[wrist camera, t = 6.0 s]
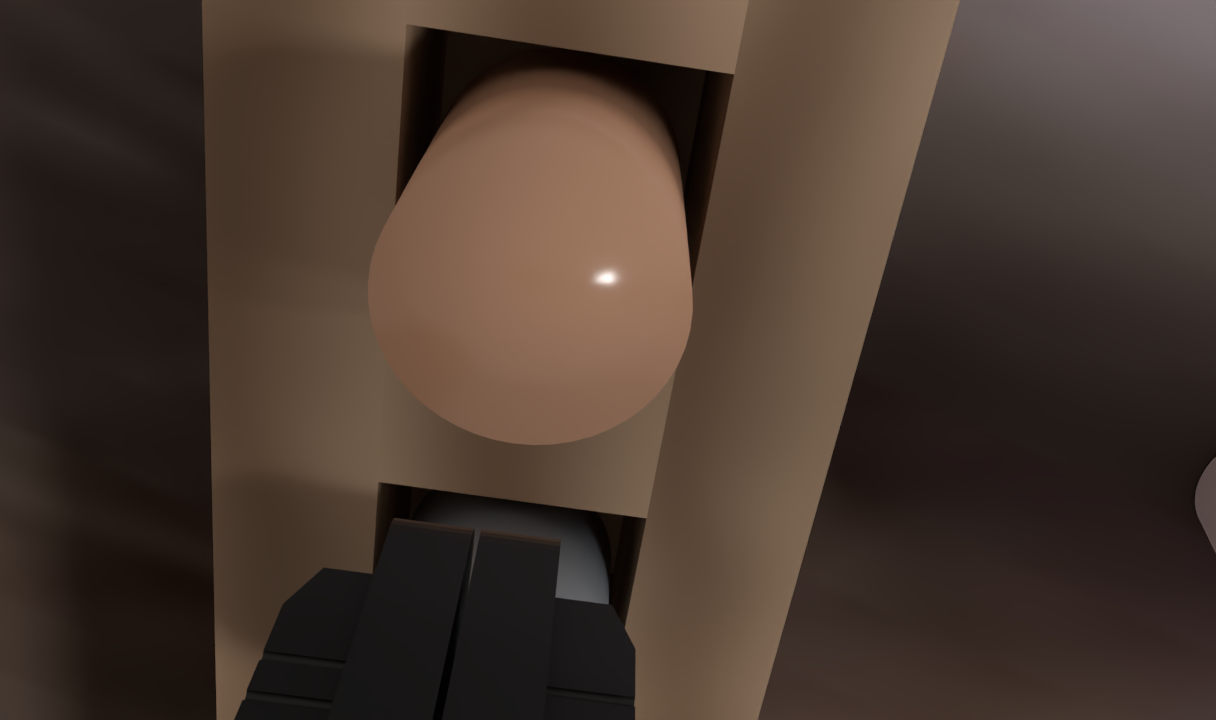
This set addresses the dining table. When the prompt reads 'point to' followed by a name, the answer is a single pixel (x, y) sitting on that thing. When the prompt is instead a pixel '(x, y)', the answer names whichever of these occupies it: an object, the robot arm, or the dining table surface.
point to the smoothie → (1207, 501)
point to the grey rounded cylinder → (576, 528)
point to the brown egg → (539, 254)
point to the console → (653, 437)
